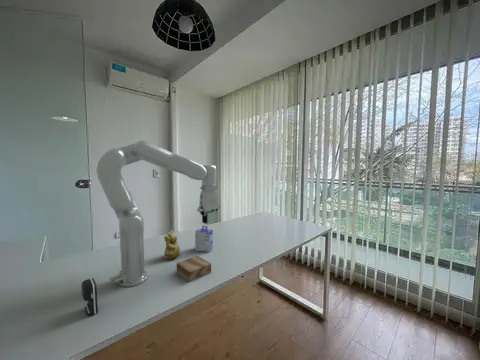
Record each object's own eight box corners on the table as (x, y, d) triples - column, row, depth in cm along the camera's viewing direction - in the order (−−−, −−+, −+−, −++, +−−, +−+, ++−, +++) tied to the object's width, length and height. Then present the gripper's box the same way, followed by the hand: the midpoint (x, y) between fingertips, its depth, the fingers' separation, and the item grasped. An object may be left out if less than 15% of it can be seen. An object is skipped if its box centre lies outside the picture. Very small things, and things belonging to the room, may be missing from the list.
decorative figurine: (168, 253, 127) (167, 228, 126) (182, 253, 127) (181, 228, 126) (162, 261, 118) (161, 234, 116) (177, 261, 118) (177, 234, 116)
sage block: (208, 224, 113) (208, 213, 112) (202, 222, 116) (202, 211, 116) (215, 222, 116) (215, 211, 116) (209, 220, 120) (209, 210, 119)
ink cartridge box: (213, 248, 135) (213, 226, 133) (210, 252, 129) (210, 228, 128) (198, 247, 137) (198, 224, 135) (194, 250, 131) (194, 227, 130)
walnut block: (190, 282, 98) (190, 272, 98) (176, 272, 106) (176, 263, 106) (211, 273, 107) (211, 263, 106) (197, 264, 115) (197, 255, 114)
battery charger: (82, 308, 80) (80, 279, 79) (94, 304, 82) (92, 275, 81) (85, 319, 75) (83, 288, 74) (98, 313, 77) (96, 283, 76)
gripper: (199, 190, 106) (199, 226, 108) (225, 187, 118) (225, 220, 120) (191, 188, 111) (191, 223, 113) (216, 186, 123) (216, 217, 125)
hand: (208, 221), depth 116 cm, fingers closed on sage block, 4 cm apart
